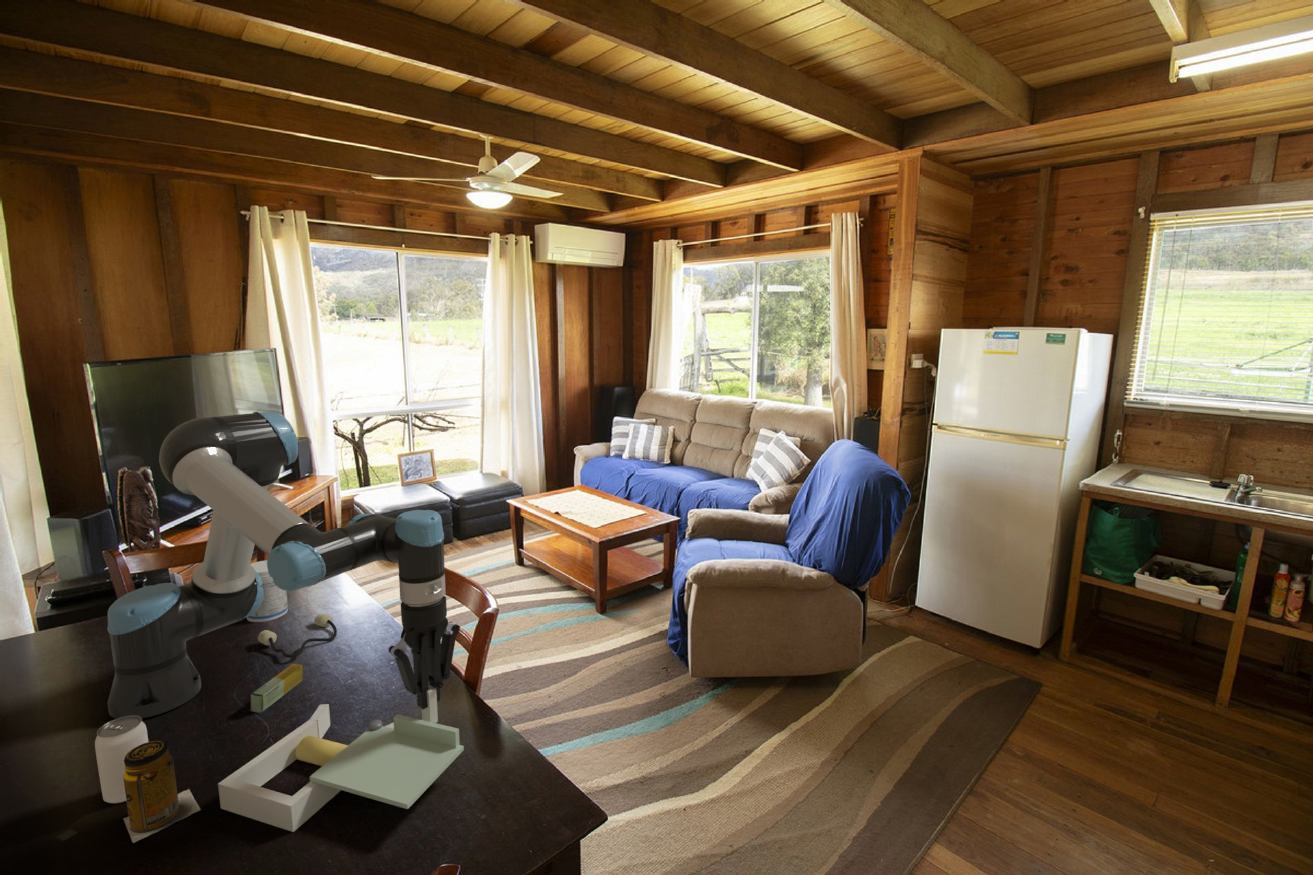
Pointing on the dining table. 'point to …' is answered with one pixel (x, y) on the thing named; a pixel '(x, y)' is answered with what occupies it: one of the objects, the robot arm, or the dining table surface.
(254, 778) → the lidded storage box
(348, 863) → the dining table surface
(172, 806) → the condiment
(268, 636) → the cable
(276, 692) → the medication box
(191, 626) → the robot arm
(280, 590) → the supplement tub
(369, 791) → the cover
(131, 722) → the can
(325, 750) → the yellow cardboard tube
